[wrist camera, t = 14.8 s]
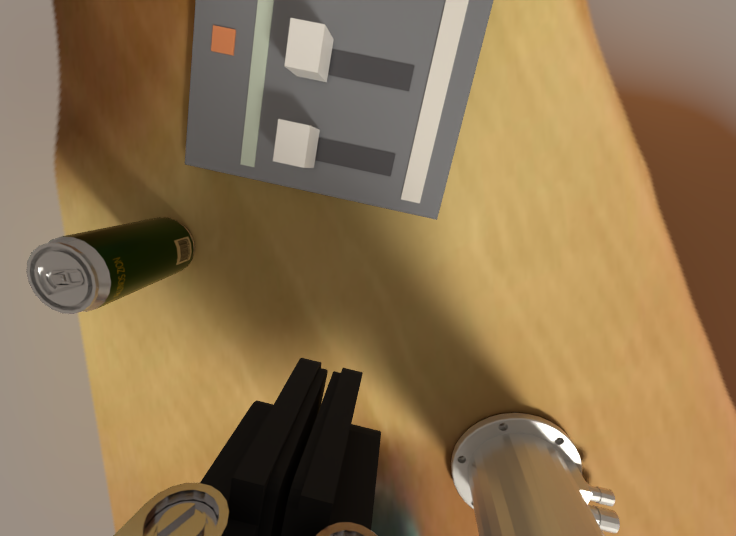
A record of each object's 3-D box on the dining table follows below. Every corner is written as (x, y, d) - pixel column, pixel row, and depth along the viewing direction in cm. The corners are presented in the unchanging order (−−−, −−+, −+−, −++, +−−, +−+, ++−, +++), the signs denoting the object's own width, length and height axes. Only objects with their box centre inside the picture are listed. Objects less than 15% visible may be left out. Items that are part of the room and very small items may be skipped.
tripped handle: (333, 39, 28) (325, 24, 25) (326, 82, 29) (317, 72, 26) (302, 33, 28) (290, 17, 25) (296, 76, 29) (284, 65, 26)
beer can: (190, 213, 35) (84, 234, 24) (203, 267, 37) (109, 313, 25) (138, 219, 36) (11, 243, 24) (153, 273, 37) (39, 320, 26)
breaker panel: (503, -50, 27) (525, -100, 22) (435, 216, 33) (440, 225, 28) (217, -102, 29) (175, -162, 23) (197, 164, 34) (159, 163, 29)
